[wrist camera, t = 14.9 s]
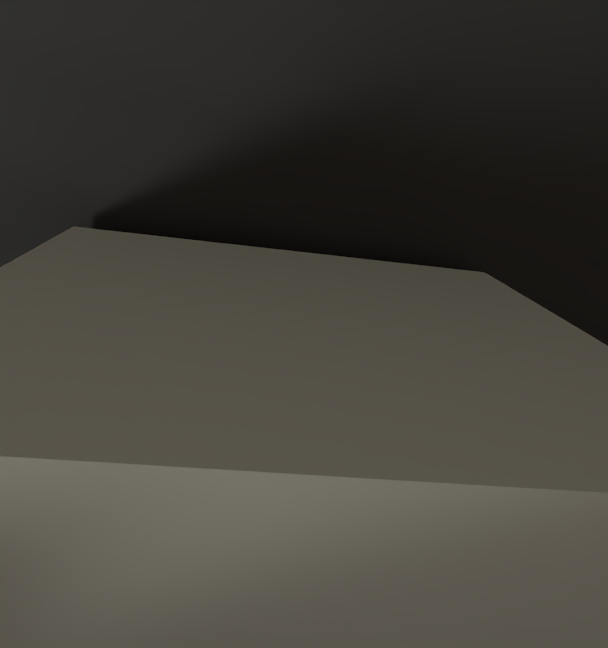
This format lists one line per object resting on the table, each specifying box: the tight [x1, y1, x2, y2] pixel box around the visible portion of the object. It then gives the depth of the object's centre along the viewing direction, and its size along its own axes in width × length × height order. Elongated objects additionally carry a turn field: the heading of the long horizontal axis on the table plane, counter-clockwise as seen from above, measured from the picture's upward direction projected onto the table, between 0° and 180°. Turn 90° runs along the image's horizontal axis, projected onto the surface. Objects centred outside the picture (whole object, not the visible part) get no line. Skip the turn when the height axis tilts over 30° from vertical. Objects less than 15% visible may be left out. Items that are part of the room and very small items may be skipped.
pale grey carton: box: [0, 227, 608, 648], centre depth 7 cm, size 6×8×6 cm
